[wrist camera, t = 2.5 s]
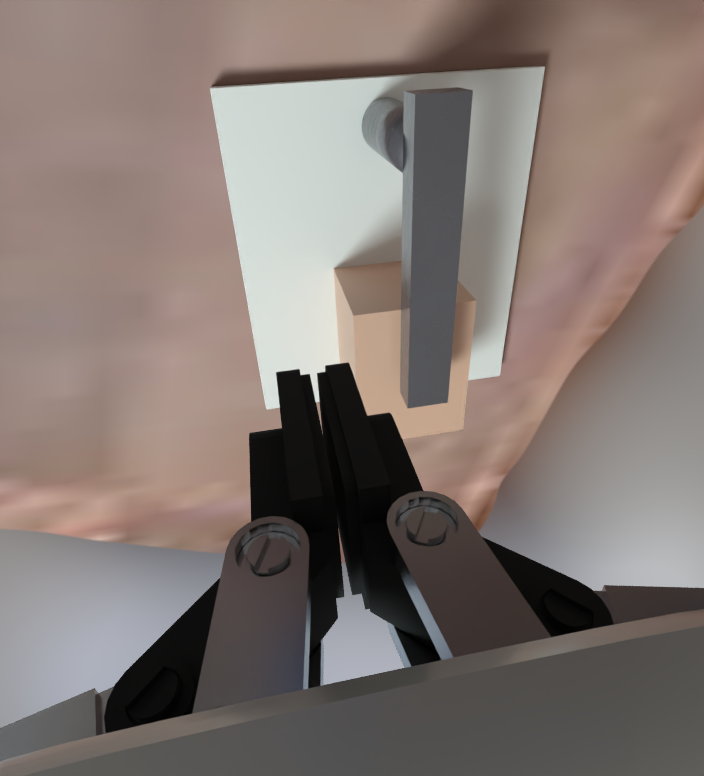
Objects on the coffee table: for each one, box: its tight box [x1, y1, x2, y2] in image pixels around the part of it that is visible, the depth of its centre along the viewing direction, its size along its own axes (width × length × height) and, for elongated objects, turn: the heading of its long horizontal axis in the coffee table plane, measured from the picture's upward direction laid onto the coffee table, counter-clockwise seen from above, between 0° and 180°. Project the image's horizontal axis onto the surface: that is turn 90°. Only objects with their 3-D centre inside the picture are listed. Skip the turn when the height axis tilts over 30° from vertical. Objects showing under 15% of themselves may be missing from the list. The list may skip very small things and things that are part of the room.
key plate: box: [210, 66, 545, 409], centre depth 29 cm, size 18×16×1 cm
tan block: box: [334, 261, 476, 439], centre depth 29 cm, size 8×6×6 cm
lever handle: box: [362, 87, 473, 408], centre depth 24 cm, size 13×2×8 cm, turn 2°
